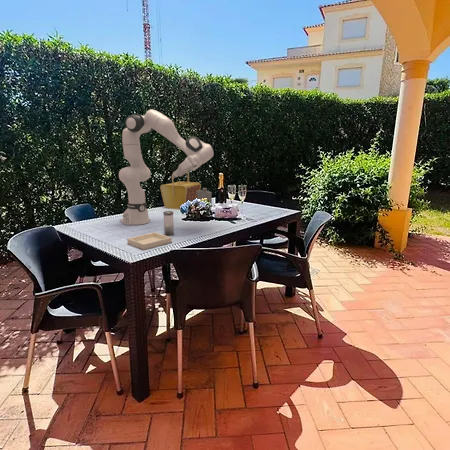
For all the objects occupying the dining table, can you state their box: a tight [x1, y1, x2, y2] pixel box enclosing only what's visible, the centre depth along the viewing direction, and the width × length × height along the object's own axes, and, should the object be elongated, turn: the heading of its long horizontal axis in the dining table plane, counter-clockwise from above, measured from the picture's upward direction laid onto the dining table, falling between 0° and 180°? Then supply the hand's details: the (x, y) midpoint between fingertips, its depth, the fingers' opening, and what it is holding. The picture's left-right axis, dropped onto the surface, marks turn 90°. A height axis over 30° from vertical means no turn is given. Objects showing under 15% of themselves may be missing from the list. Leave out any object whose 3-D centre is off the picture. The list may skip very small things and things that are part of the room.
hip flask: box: [197, 187, 213, 205], centre depth 247 cm, size 16×4×20 cm, turn 45°
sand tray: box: [127, 231, 173, 251], centre depth 171 cm, size 16×18×3 cm
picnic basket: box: [159, 171, 201, 210], centre depth 273 cm, size 29×26×30 cm
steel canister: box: [163, 210, 175, 237], centre depth 186 cm, size 6×6×14 cm
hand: (172, 176), depth 186 cm, fingers open, 8 cm apart
